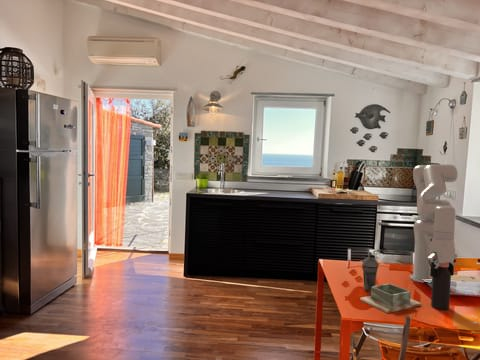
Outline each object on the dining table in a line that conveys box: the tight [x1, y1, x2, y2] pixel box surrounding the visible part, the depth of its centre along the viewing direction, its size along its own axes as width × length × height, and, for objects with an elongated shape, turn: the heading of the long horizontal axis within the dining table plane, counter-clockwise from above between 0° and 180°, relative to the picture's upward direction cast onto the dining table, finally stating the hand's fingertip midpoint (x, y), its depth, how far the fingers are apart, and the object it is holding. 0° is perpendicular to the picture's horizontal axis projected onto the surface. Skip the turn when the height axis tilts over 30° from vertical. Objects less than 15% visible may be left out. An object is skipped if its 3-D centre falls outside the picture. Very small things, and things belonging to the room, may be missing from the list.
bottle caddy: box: [359, 283, 422, 314], centre depth 159 cm, size 20×15×6 cm
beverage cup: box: [361, 247, 379, 292], centre depth 175 cm, size 7×7×20 cm
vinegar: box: [430, 262, 452, 311], centre depth 155 cm, size 7×7×20 cm
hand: (441, 276), depth 154 cm, fingers open, 9 cm apart
